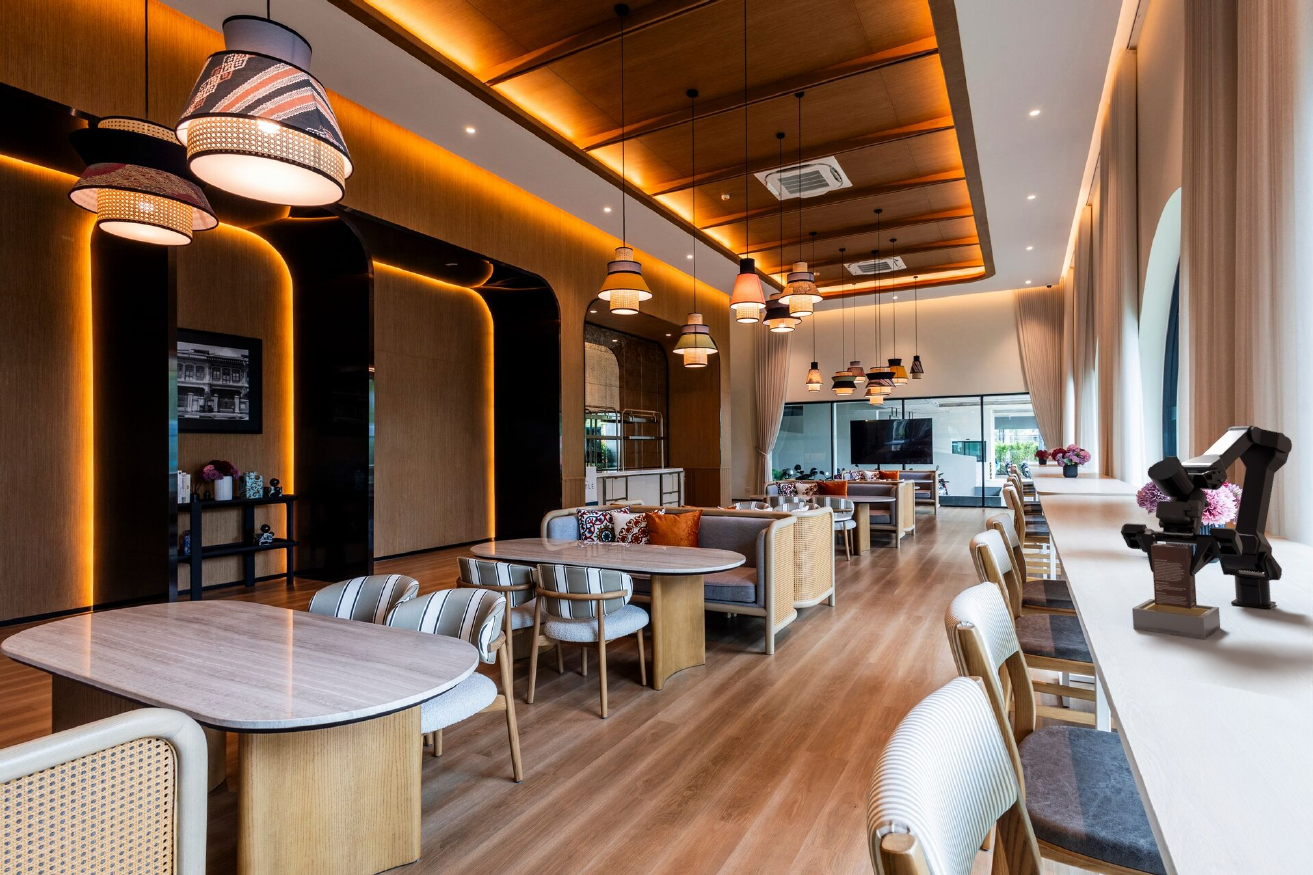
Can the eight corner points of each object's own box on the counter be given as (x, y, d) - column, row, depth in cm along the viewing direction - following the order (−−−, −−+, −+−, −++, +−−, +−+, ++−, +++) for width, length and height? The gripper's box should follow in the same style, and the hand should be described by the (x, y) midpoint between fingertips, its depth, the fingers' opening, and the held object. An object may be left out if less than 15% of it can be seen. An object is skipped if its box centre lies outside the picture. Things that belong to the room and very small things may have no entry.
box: (1197, 605, 130) (1194, 544, 130) (1191, 609, 127) (1187, 547, 128) (1160, 601, 135) (1156, 542, 135) (1153, 605, 132) (1150, 544, 132)
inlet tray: (1151, 618, 139) (1150, 598, 139) (1220, 627, 130) (1219, 607, 130) (1133, 628, 132) (1132, 608, 132) (1204, 639, 123) (1203, 617, 123)
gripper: (1120, 485, 141) (1104, 543, 134) (1234, 486, 127) (1222, 552, 120) (1136, 518, 146) (1121, 576, 139) (1247, 523, 131) (1236, 588, 124)
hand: (1171, 572), depth 130 cm, fingers closed on box, 6 cm apart
